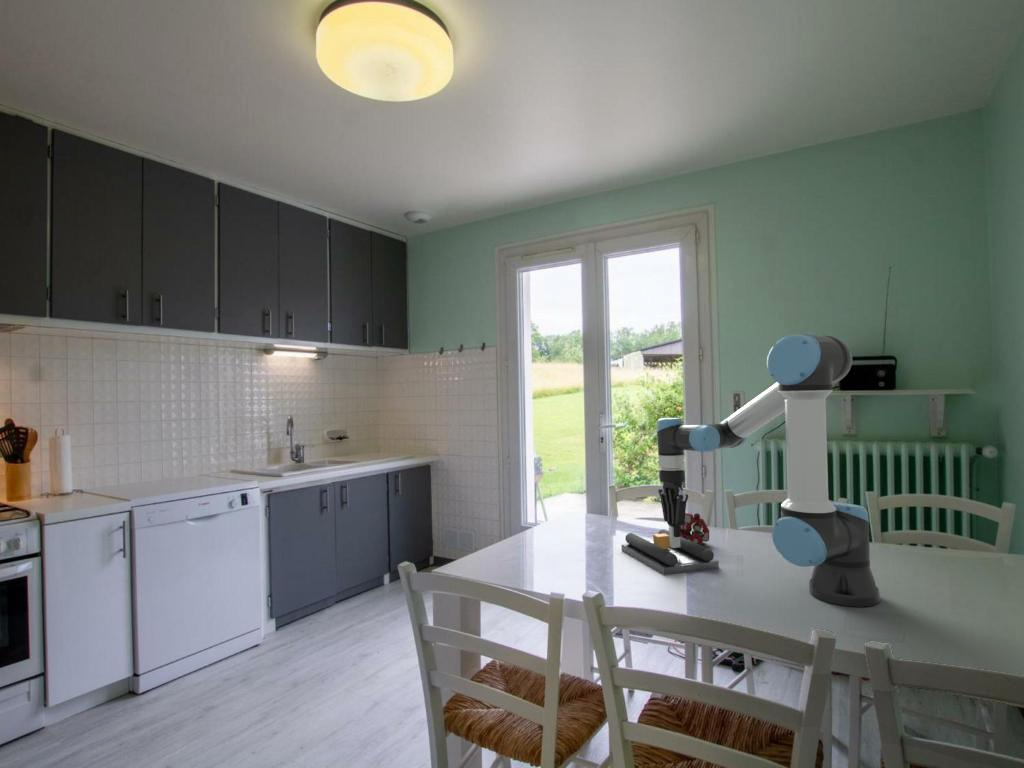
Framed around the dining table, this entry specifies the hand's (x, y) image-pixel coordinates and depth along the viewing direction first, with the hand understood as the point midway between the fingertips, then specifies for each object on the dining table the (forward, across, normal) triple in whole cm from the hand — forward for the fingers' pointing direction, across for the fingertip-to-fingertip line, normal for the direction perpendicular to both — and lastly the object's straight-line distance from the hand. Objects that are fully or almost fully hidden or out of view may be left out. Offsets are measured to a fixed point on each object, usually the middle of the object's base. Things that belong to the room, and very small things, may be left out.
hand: (675, 546), depth 169 cm
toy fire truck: (+5, +16, -16) cm, 23 cm away
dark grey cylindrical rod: (+3, +4, -6) cm, 8 cm away
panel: (+5, +4, 0) cm, 7 cm away
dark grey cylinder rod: (+3, +4, +6) cm, 8 cm away
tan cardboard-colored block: (+2, +8, 0) cm, 8 cm away
